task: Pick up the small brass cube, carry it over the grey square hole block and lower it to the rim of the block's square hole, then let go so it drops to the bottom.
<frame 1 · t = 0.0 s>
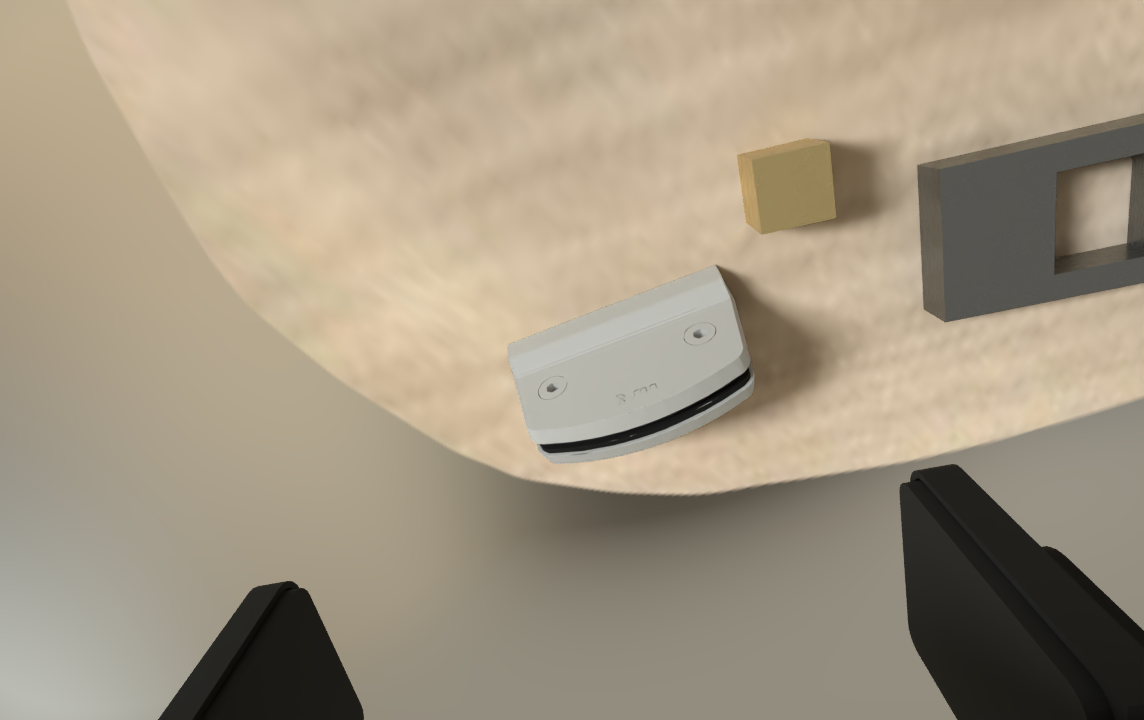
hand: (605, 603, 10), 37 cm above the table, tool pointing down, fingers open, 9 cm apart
grey square hole block: (1077, 206, 43), on the table
hinge: (627, 351, 48), on the table
brass cube: (775, 181, 43), on the table
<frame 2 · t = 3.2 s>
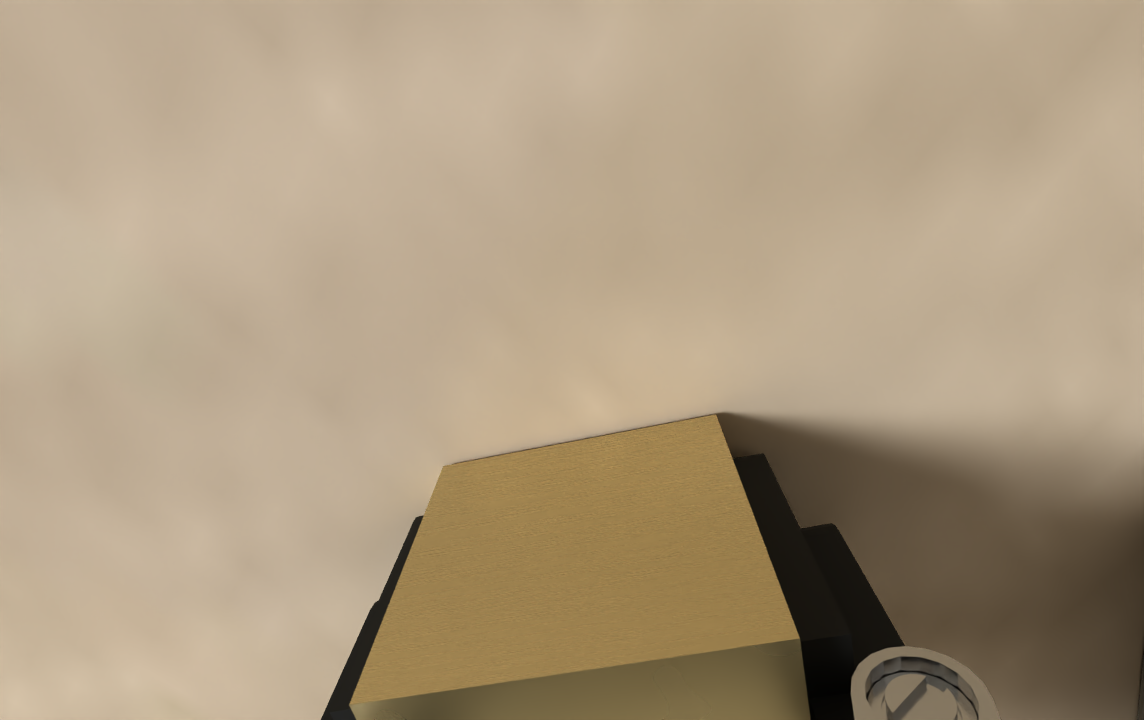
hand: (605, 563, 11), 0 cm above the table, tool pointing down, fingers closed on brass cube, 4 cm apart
brass cube: (605, 551, 11), on the table, touching gripper
when the fingers open (4 cm above the table, at t = 9.5 s): brass cube drops 4 cm, resting in grey square hole block.
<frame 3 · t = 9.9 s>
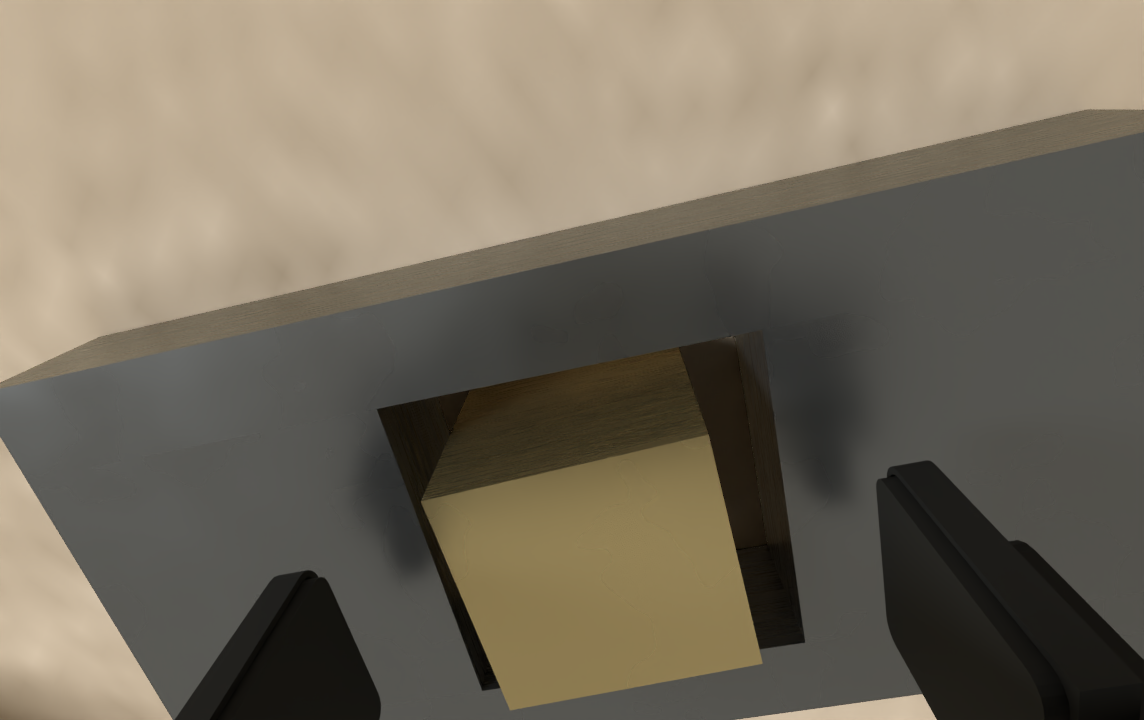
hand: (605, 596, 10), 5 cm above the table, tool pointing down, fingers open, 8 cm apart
grey square hole block: (602, 451, 15), on the table
brass cube: (598, 449, 15), resting in grey square hole block
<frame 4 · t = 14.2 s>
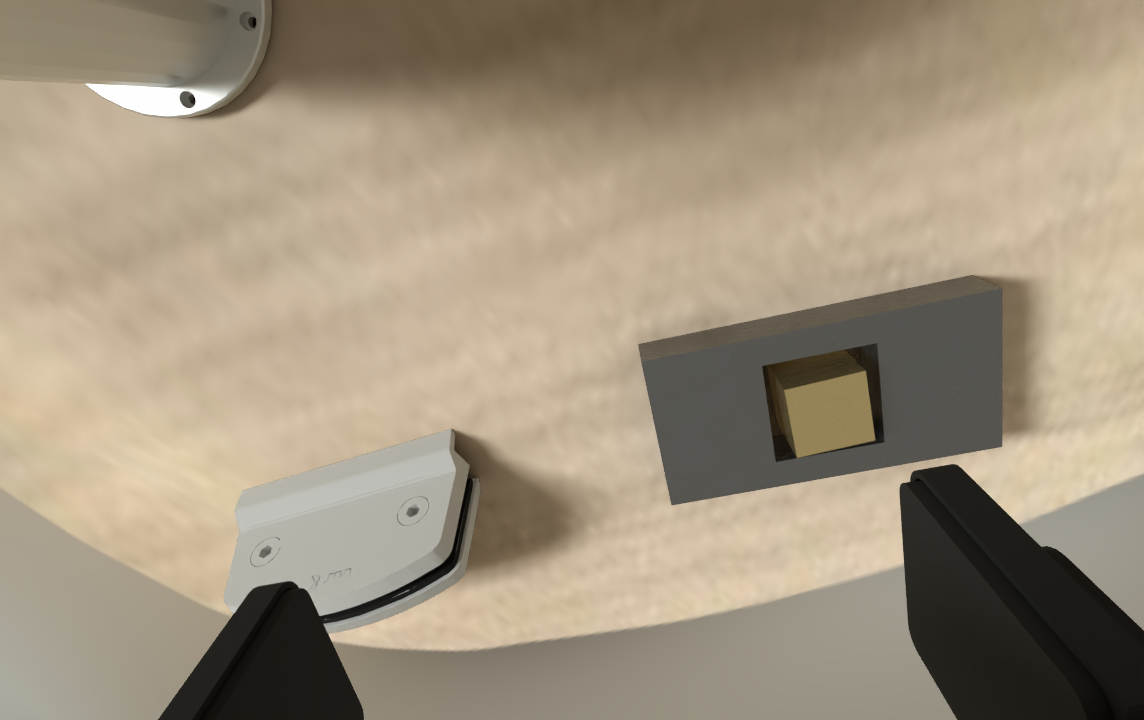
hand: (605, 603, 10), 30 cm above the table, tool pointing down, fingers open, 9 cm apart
grey square hole block: (809, 384, 41), on the table
hinge: (369, 503, 46), on the table
brass cube: (806, 384, 41), resting in grey square hole block
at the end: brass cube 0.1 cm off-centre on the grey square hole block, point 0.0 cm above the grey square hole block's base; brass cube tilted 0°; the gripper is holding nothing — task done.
